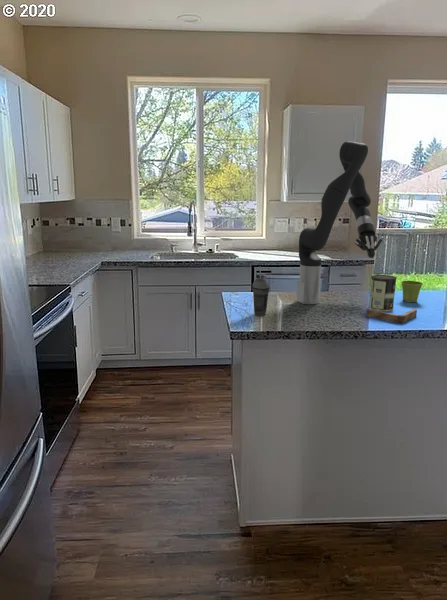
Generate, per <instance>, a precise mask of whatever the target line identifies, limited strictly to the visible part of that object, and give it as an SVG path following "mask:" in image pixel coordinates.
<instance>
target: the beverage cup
mask: <svg viewBox="0 0 447 600" xmlns="http://www.w3.org/2000/svg"><path fill="white" fill-rule="evenodd" d="M261 269H262V268H261V266H259V277H257V278H255V279H254V281H253V283H252V285H251V288H252V289H251V290H252V295H253V310H254V311H253V312H254V316H255V317H265V316H266V314H267V309H268V308H267V307H268V300H269V293H270V282H269V281H268V280H267V279H266V277H262V272H261V271H262V270H261Z"/></svg>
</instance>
